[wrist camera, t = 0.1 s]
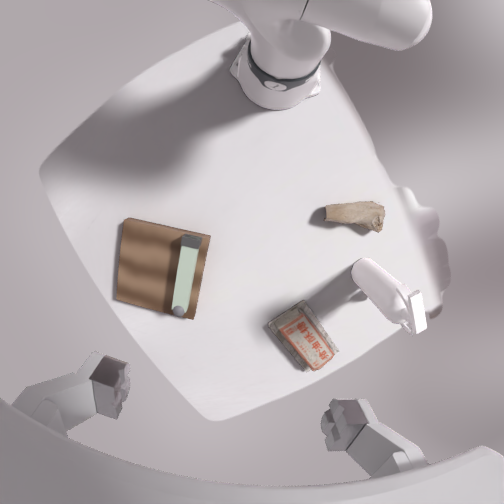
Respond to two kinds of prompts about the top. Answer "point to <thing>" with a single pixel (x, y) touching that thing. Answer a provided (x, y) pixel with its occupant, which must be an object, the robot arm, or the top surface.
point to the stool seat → (155, 265)
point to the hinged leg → (185, 273)
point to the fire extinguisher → (390, 295)
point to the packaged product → (304, 337)
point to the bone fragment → (357, 214)
